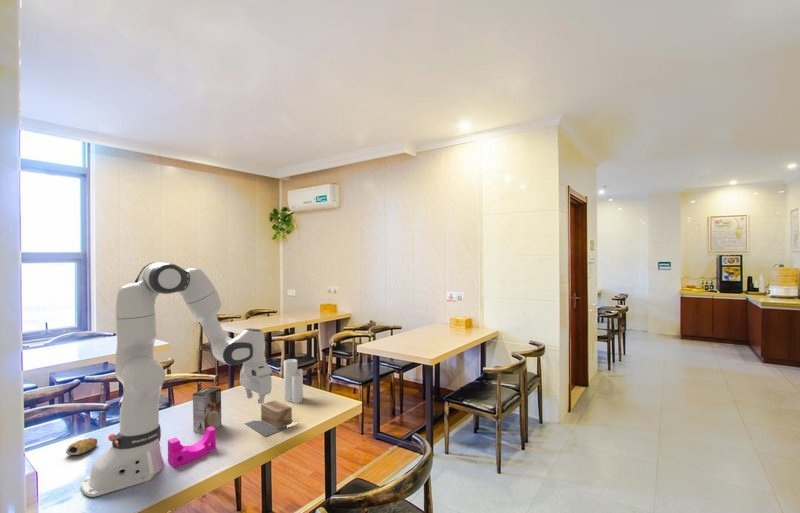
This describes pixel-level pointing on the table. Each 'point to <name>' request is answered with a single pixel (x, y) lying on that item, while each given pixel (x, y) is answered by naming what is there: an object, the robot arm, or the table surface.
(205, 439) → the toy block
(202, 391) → the coffee box
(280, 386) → the table surface
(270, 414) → the wooden brick
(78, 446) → the pastry
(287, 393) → the three-tube pen holder
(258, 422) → the mat
